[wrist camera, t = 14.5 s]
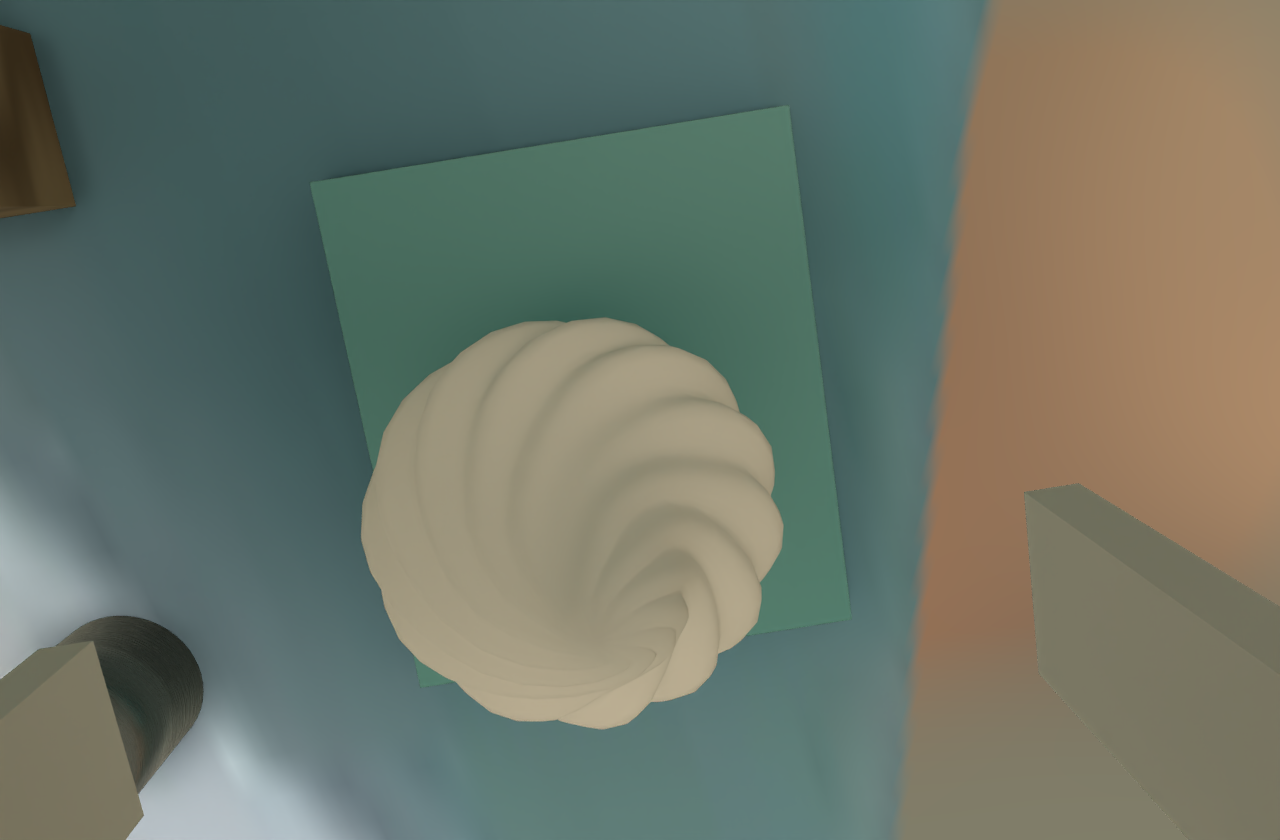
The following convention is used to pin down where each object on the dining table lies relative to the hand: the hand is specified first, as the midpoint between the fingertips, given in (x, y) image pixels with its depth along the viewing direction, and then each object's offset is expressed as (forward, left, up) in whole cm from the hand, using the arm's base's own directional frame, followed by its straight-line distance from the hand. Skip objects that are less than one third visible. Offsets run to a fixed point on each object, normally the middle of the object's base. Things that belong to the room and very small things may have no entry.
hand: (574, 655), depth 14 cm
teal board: (0, 0, -19) cm, 19 cm away
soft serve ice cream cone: (0, 0, -18) cm, 18 cm away
